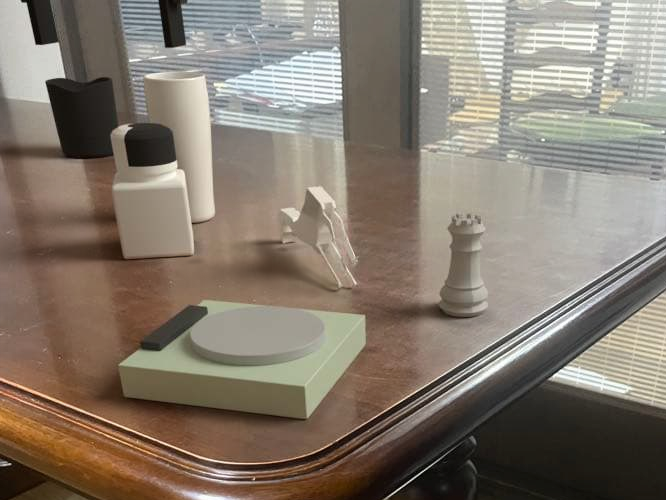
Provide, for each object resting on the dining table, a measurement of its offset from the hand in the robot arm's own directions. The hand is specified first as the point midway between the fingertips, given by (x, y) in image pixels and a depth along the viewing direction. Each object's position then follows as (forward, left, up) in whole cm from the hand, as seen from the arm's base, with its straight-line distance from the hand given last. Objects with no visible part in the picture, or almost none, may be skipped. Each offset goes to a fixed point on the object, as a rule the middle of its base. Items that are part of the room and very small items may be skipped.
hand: (110, 45), depth 82 cm
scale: (+24, -27, -19) cm, 40 cm away
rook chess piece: (+37, -10, -19) cm, 42 cm away
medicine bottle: (+2, 0, -19) cm, 19 cm away
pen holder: (-32, +43, -19) cm, 57 cm away
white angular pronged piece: (+20, -1, -19) cm, 27 cm away
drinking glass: (0, +12, -19) cm, 23 cm away
